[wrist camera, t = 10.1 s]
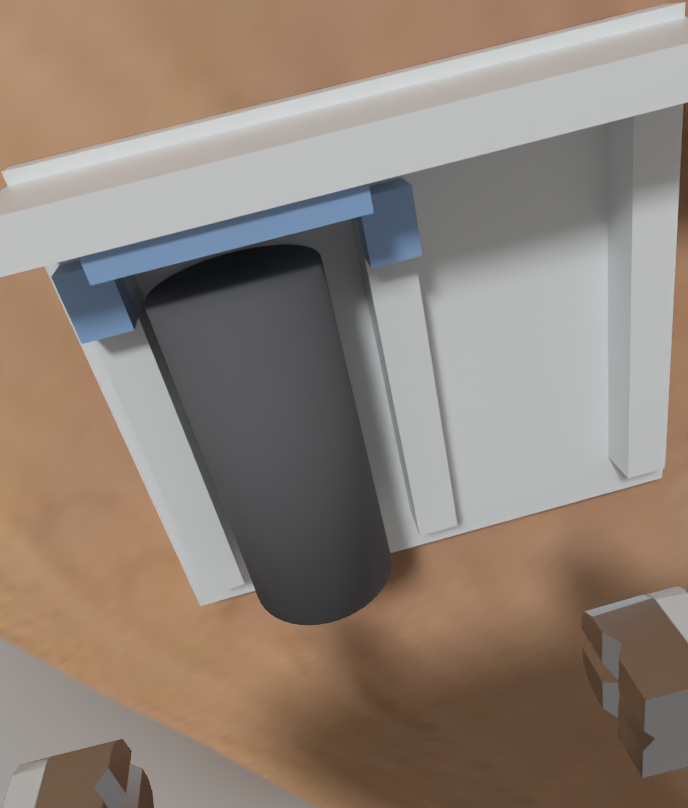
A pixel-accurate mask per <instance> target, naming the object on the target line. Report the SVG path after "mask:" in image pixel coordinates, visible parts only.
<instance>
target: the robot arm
mask: <svg viewBox="0 0 688 808" xmlns="http://www.w3.org/2000/svg"><path fill="white" fill-rule="evenodd" d="M582 629H583V631H584V633H585V634H586V636H587V638H588V639H589V640H588V641H587V642H586V644H585V645H584V646H583V660H584V665H585V669H586V672H587V676H588V679H589V682H590V684H591V686H592V689H593V691H594V693H595V695H596V697H597V699H598V701H599V702H600V704H601V706H602V708H603V709H604V710H606V711H607V712H609V713H611V714H612V715H614V716H616V717H617V718H618V736H619V738H620V740H621V742H622V743H623V745H624V747H625V749H626V750H627V752H628V754H629V756H630V757H631V759H632V761H633V763H634V764H635V766H636V768H637V770H638V771H639V773H640V775H641V777H642V778H645V777H649V776H653V775H657V774H661V773H665V772H669V771H673V770H677V769H681V768H685V767H688V592H687V591H686V590H685V589H683V588H681V587H680V586H676V587H671V588H668V589H664V590H661V591H657V592H654V593H650V594H647V595H640V596H636V597H633V598H629V599H626V600H622V601H619V602H615V603H612V604H609V605H605V606H602V607H598V608H595V609H591V610H588V611H584V613H583V615H582ZM130 760H131V750H130V748H129V747H128V746H127V744H126V743H125V742H124V740H123V739H120V740H116V741H112V742H108V743H104V744H100V745H96V746H92V747H88V748H84V749H80V750H76V751H72V752H68V753H64V754H60V755H56V756H51V757H48V758H44V759H40V760H36V761H32V762H29V763H25V764H21V765H19V766H18V768H17V769H16V771H15V772H14V774H13V775H12V777H11V778H10V782H9V785H8V788H7V792H6V795H5V798H4V802H3V805H2V808H154V804H153V793H152V789H151V786H150V783H149V779H148V777H147V775H146V774H145V772H144V770H143V769H142V768H140V767H137V766H135V765H132V764H130Z"/></svg>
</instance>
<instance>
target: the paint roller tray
mask: <svg viewBox="0 0 688 808" xmlns="http://www.w3.org/2000/svg"><path fill="white" fill-rule="evenodd" d="M687 102H688V17H685V2H682V3H669V4H662V5H658V6H654V7H650V8H646V9H642V10H638V11H634V12H630V13H626V14H622V15H618V16H614V17H610V18H606V19H602V20H598V21H594V22H590V23H586V24H582V25H578V26H574V27H570V28H566V29H562V30H558V31H554V32H550V33H546V34H541V35H537V36H533V37H529V38H525V39H521V40H517V41H513V42H509V43H505V44H501V45H497V46H493V47H489V48H485V49H481V50H477V51H473V52H469V53H465V54H461V55H457V56H453V57H449V58H445V59H441V60H437V61H433V62H429V63H425V64H421V65H416V66H412V67H408V68H404V69H400V70H396V71H392V72H388V73H384V74H380V75H376V76H372V77H368V78H364V79H360V80H356V81H352V82H348V83H344V84H340V85H336V86H332V87H328V88H324V89H320V90H316V91H312V92H308V93H304V94H300V95H296V96H292V97H287V98H283V99H279V100H275V101H271V102H267V103H263V104H259V105H255V106H251V107H247V108H243V109H239V110H235V111H231V112H227V113H223V114H219V115H215V116H211V117H207V118H203V119H199V120H195V121H191V122H187V123H183V124H179V125H175V126H171V127H167V128H163V129H158V130H154V131H150V132H146V133H142V134H138V135H134V136H130V137H126V138H122V139H118V140H114V141H110V142H106V143H102V144H98V145H94V146H90V147H86V148H82V149H78V150H74V151H70V152H66V153H62V154H58V155H54V156H50V157H46V158H42V159H38V160H34V161H29V162H25V163H21V164H17V165H13V166H10V167H9V168H7V169H6V170H4V171H2V174H3V177H4V179H5V181H6V183H7V185H8V186H6V187H5V188H3V189H2V190H1V191H0V277H3V276H7V275H11V274H15V273H19V272H23V271H27V270H31V269H35V268H39V267H43V266H45V268H46V270H47V273H48V275H49V277H50V279H51V281H52V283H53V286H54V288H55V290H56V292H57V294H58V297H59V299H60V301H61V303H62V305H63V307H64V310H65V312H66V314H67V316H68V318H69V321H70V323H71V325H72V327H73V329H74V331H75V334H76V336H77V338H78V340H79V342H80V345H81V347H82V349H83V351H84V353H85V355H86V358H87V360H88V362H89V364H90V366H91V369H92V371H93V373H94V375H95V377H96V379H97V382H98V384H99V386H100V388H101V390H102V393H103V395H104V397H105V399H106V401H107V403H108V406H109V408H110V410H111V412H112V414H113V417H114V419H115V421H116V423H117V425H118V427H119V430H120V432H121V434H122V436H123V438H124V441H125V443H126V445H127V447H128V449H129V451H130V454H131V456H132V458H133V460H134V462H135V464H136V467H137V469H138V471H139V473H140V475H141V478H142V480H143V482H144V484H145V486H146V488H147V491H148V493H149V495H150V497H151V499H152V502H153V504H154V506H155V508H156V510H157V512H158V515H159V517H160V519H161V521H162V523H163V526H164V528H165V530H166V532H167V534H168V536H169V539H170V541H171V543H172V545H173V547H174V550H175V552H176V554H177V556H178V558H179V560H180V563H181V565H182V567H183V569H184V571H185V574H186V576H187V578H188V580H189V582H190V584H191V587H192V589H193V591H194V593H195V595H196V598H197V600H198V602H199V604H200V606H202V605H206V604H209V603H213V602H216V601H220V600H224V599H227V598H231V597H234V596H238V595H242V594H245V593H249V592H252V591H255V588H254V586H253V583H252V580H251V578H250V575H249V573H248V570H247V568H246V565H245V563H244V560H243V557H242V555H241V552H240V550H239V547H238V545H237V542H236V540H235V537H234V534H233V532H232V529H231V527H230V524H229V522H228V519H227V517H226V514H225V511H224V509H223V506H222V504H221V501H220V499H219V496H218V494H217V491H216V488H215V486H214V483H213V481H212V478H211V476H210V473H209V471H208V468H207V465H206V463H205V460H204V458H203V455H202V453H201V450H200V448H199V445H198V442H197V440H196V437H195V435H194V432H193V430H192V427H191V425H190V422H189V419H188V417H187V414H186V412H185V409H184V407H183V404H182V402H181V399H180V396H179V394H178V391H177V389H176V386H175V384H174V381H173V379H172V376H171V373H170V371H169V368H168V366H167V363H166V361H165V358H164V356H163V353H162V350H161V348H160V345H159V343H158V340H157V338H156V335H155V333H154V330H153V327H152V325H151V322H150V320H149V317H148V315H147V312H146V310H145V307H144V301H145V298H146V296H147V295H148V293H149V292H150V291H151V290H152V289H153V288H154V287H155V286H157V285H158V284H159V283H161V282H162V281H163V280H165V279H167V278H168V277H170V276H172V275H174V274H175V273H177V272H179V271H181V270H183V269H186V268H188V267H190V266H192V265H195V264H197V263H200V262H202V261H205V260H208V259H211V258H214V257H217V256H220V255H224V254H228V253H232V252H235V251H239V250H244V249H249V248H254V247H261V246H269V245H283V244H289V245H302V246H307V247H310V248H313V249H315V250H317V251H318V252H319V253H320V255H321V258H322V262H323V267H324V271H325V275H326V279H327V284H328V288H329V292H330V297H331V301H332V305H333V309H334V314H335V318H336V322H337V327H338V331H339V335H340V339H341V344H342V348H343V352H344V357H345V361H346V365H347V369H348V374H349V378H350V382H351V386H352V391H353V395H354V399H355V404H356V408H357V412H358V416H359V421H360V425H361V429H362V434H363V438H364V442H365V446H366V451H367V455H368V459H369V464H370V468H371V472H372V476H373V481H374V485H375V489H376V493H377V498H378V502H379V506H380V511H381V515H382V519H383V523H384V528H385V532H386V536H387V541H388V545H389V549H390V553H393V552H397V551H400V550H404V549H408V548H411V547H415V546H418V545H422V544H426V543H429V542H433V541H436V540H440V539H444V538H447V537H451V536H454V535H458V534H462V533H465V532H469V531H473V530H476V529H480V528H483V527H487V526H491V525H494V524H498V523H501V522H505V521H509V520H512V519H516V518H519V517H523V516H527V515H530V514H534V513H537V512H541V511H545V510H548V509H552V508H555V507H559V506H563V505H566V504H570V503H574V502H577V501H581V500H584V499H588V498H592V497H595V496H599V495H602V494H606V493H610V492H613V491H617V490H620V489H624V488H628V487H631V486H635V485H638V484H642V483H646V482H649V481H653V480H656V479H660V478H662V469H664V468H665V457H666V438H667V418H668V399H669V379H670V359H671V340H672V320H673V301H674V281H675V262H676V242H677V223H678V203H679V184H680V164H681V145H682V125H683V106H684V103H687Z"/></svg>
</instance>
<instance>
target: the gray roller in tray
mask: <svg viewBox="0 0 688 808" xmlns="http://www.w3.org/2000/svg"><path fill="white" fill-rule="evenodd" d="M144 307H145V310H146V312H147V315H148V317H149V320H150V322H151V325H152V327H153V330H154V333H155V335H156V338H157V340H158V343H159V345H160V348H161V350H162V353H163V356H164V358H165V361H166V363H167V366H168V368H169V371H170V373H171V376H172V379H173V381H174V384H175V386H176V389H177V391H178V394H179V396H180V399H181V402H182V404H183V407H184V409H185V412H186V414H187V417H188V419H189V422H190V425H191V427H192V430H193V432H194V435H195V437H196V440H197V442H198V445H199V448H200V450H201V453H202V455H203V458H204V460H205V463H206V465H207V468H208V471H209V473H210V476H211V478H212V481H213V483H214V486H215V488H216V491H217V494H218V496H219V499H220V501H221V504H222V506H223V509H224V511H225V514H226V517H227V519H228V522H229V524H230V527H231V529H232V532H233V534H234V537H235V540H236V542H237V545H238V547H239V550H240V552H241V555H242V557H243V560H244V563H245V565H246V568H247V570H248V573H249V575H250V578H251V580H252V583H253V586H254V588H255V591H256V593H257V596H258V598H259V600H260V602H261V604H262V605H263V607H264V608H265V609H266V610H267V611H268V612H269V613H270V614H272V615H273V616H275V617H276V618H278V619H280V620H283V621H285V622H289V623H293V624H299V625H319V624H325V623H330V622H333V621H337V620H340V619H342V618H345V617H347V616H349V615H351V614H353V613H355V612H357V611H358V610H360V609H362V608H363V607H365V606H366V605H367V604H368V603H369V602H371V601H372V600H373V599H374V598H375V597H376V596H377V595H378V593H379V592H380V591H381V589H382V588H383V587H384V585H385V583H386V581H387V579H388V576H389V574H390V569H391V553H390V549H389V545H388V541H387V536H386V532H385V528H384V523H383V519H382V515H381V511H380V506H379V502H378V498H377V493H376V489H375V485H374V481H373V476H372V472H371V468H370V464H369V459H368V455H367V451H366V446H365V442H364V438H363V434H362V429H361V425H360V421H359V416H358V412H357V408H356V404H355V399H354V395H353V391H352V386H351V382H350V378H349V374H348V369H347V365H346V361H345V357H344V352H343V348H342V344H341V339H340V335H339V331H338V327H337V322H336V318H335V314H334V309H333V305H332V301H331V297H330V292H329V288H328V284H327V279H326V275H325V271H324V267H323V262H322V258H321V255H320V253H319V252H318V251H317V250H315V249H313V248H310V247H307V246H302V245H289V244H283V245H269V246H261V247H254V248H249V249H244V250H239V251H235V252H232V253H228V254H224V255H220V256H217V257H214V258H211V259H208V260H205V261H202V262H200V263H197V264H195V265H192V266H190V267H188V268H186V269H183V270H181V271H179V272H177V273H175V274H174V275H172V276H170V277H168V278H167V279H165V280H163V281H162V282H161V283H159V284H158V285H157V286H155V287H154V288H153V289H152V290H151V291H150V292H149V293H148V295H147V296H146V298H145V301H144Z"/></svg>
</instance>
